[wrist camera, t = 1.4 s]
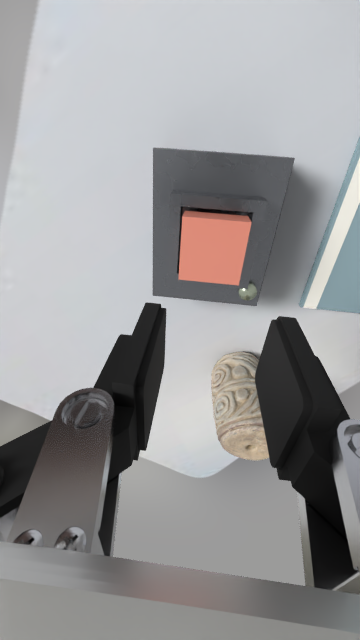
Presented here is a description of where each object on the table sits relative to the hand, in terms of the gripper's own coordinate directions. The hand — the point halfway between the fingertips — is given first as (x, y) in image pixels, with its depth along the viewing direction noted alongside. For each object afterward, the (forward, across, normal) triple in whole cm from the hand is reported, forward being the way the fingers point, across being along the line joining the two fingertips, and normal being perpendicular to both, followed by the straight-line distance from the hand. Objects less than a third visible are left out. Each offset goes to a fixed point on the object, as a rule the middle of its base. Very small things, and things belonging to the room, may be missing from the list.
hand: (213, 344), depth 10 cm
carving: (+19, -6, +18) cm, 27 cm away
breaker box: (+19, 0, 0) cm, 19 cm away
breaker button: (+12, 0, 0) cm, 12 cm away
